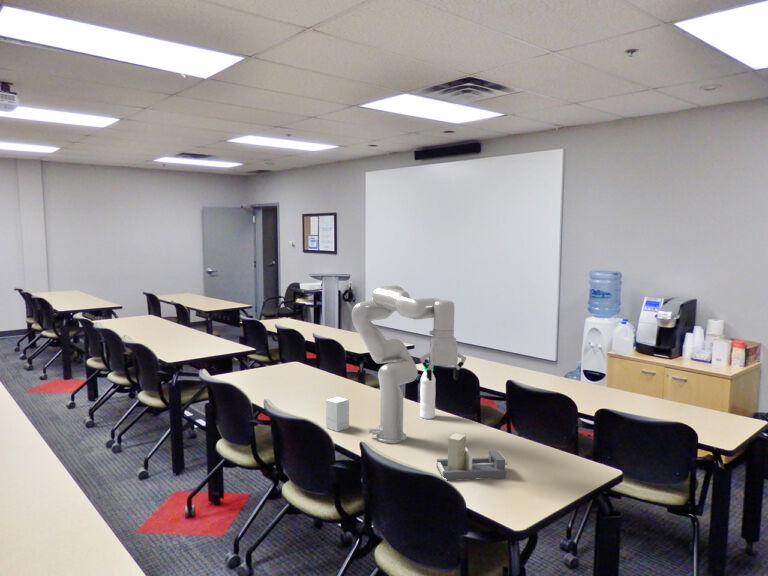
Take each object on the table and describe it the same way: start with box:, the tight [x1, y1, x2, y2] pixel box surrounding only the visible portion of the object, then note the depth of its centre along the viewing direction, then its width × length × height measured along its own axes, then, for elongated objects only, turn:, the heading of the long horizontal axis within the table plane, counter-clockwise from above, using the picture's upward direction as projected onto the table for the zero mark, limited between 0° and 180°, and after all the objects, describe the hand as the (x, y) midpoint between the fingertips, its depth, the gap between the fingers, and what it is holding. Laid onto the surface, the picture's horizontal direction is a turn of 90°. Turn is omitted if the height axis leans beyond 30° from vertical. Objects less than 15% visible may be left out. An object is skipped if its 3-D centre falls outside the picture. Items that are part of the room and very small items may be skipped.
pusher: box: [465, 447, 509, 470], centre depth 182 cm, size 15×8×6 cm, turn 96°
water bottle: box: [419, 365, 436, 420], centre depth 239 cm, size 7×7×25 cm
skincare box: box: [447, 433, 467, 471], centre depth 181 cm, size 6×4×12 cm
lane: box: [436, 449, 507, 481], centre depth 182 cm, size 22×11×6 cm, turn 96°
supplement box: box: [325, 396, 350, 432], centre depth 224 cm, size 7×7×13 cm
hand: (442, 379), depth 190 cm, fingers open, 9 cm apart
